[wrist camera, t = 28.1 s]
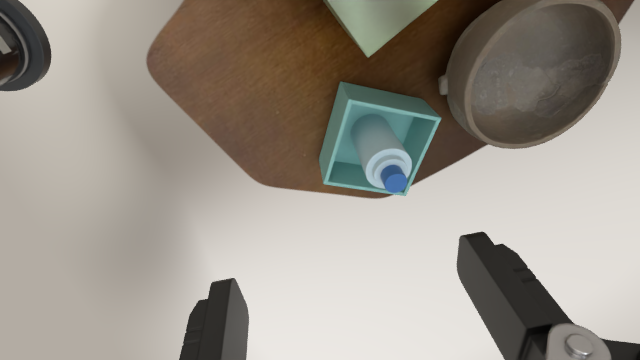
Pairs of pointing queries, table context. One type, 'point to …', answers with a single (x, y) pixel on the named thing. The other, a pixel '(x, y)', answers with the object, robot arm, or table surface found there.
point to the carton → (401, 114)
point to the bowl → (530, 69)
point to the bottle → (381, 153)
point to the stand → (375, 19)
